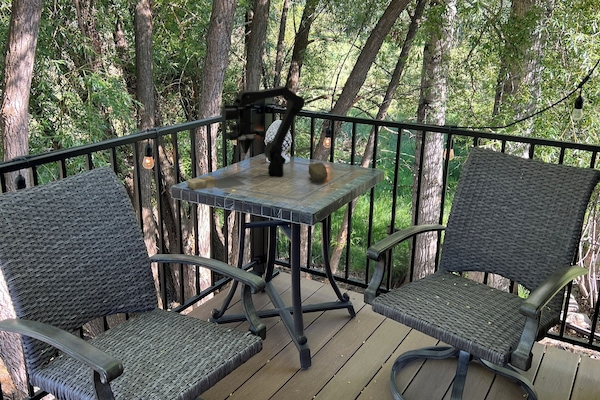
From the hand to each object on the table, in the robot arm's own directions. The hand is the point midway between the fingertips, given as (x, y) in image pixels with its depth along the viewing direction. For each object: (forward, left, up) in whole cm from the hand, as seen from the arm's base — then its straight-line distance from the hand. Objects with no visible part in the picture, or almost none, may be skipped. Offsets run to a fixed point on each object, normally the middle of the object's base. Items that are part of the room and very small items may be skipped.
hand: (245, 153), depth 264 cm
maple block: (+12, +13, -10) cm, 20 cm away
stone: (-33, -2, -12) cm, 35 cm away
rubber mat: (+8, +9, -12) cm, 17 cm away
